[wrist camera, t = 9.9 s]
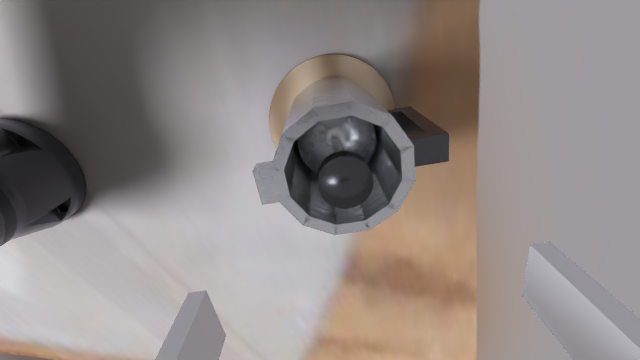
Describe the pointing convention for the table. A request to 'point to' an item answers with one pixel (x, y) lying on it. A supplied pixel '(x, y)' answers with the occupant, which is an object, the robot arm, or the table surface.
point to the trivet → (319, 70)
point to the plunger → (340, 159)
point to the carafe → (385, 164)
